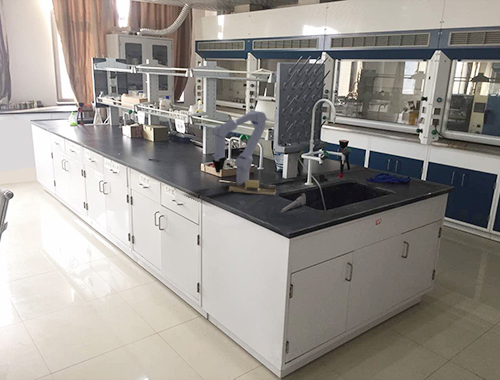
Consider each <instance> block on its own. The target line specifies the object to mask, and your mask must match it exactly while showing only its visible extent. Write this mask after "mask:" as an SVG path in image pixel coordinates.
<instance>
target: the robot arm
mask: <svg viewBox="0 0 500 380" xmlns="http://www.w3.org/2000/svg"><path fill="white" fill-rule="evenodd" d="M267 119H268V118H267V116H266V114H265V112H264V111H259V110H254V109H252V110H251V111H248V112H247V113H245V114H244V115H242V116H241V117H239V118H236V119H235V120H234V119H228V120H227V121H226V122H224V123H220V125H216V126H214V128H213V130H212V133H213V135H214V154H212V157H213V158H214V159H213V160H212V162H213V163H212V164H213V165H214V169H215V173H216V174H217V173H219V174H220V172H221V171H222V170H223V169H224V166H225V162H226V159H227V157H226V155H225V153H226V136H227V135H228V134H229V133H231V132H233V131H235V130H237V129H238V126H240V125H243V124H245V123H247V122H249V121H250V122H251V124H252V126H253V127H254V129H253V131H252V133H251V135H250V137H249V139H248V142H247V143H246V146H245V148H244V150H243V152H241V153H240V154H239V155H238V157H237V158H236V159H235V161H234V165H235V167H236V182H238V183H243V181H244V182H245V187H246V180H250V169H251V167H252V162H253V160H254V159H253V154H254V152H255V150H256V148H257V146H258V143H259V142H260V139H261V137H262V135H263V133H264V131H265V128H266V122H267Z"/></svg>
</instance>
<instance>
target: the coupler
mask: <svg viewBox="0 0 500 380" xmlns="http://www.w3.org/2000/svg"><path fill="white" fill-rule="evenodd" d="M246 188H254V189H257V191H258V190H259V189H260V180H256V179H249V180H246V186H245V190H246Z"/></svg>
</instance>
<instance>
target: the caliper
mask: <svg viewBox="0 0 500 380" xmlns="http://www.w3.org/2000/svg"><path fill="white" fill-rule="evenodd" d="M306 200H307V199H306V194H305V192H303V193H301V196H298V198H296V200H294V201H293V202H291V203H290V204H288V205H286V206H285V207H283V208H282V209H281V211H280V213H281V214H282V213H285V212H287V211H288V210H290V209H291V208H292V207H294V206H296V205H300V204H301V206H304V205H306Z"/></svg>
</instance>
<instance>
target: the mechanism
mask: <svg viewBox="0 0 500 380" xmlns="http://www.w3.org/2000/svg"><path fill="white" fill-rule="evenodd" d="M228 186H229V187H228V188H229V189H228V190H227V191H228V192H231V191H233V193H247V194H258V195H273V196H276V192H277V185H275V184H264V183H263V182H260V183H259V190H258V191H257V189H254V188H246V190H245V187H246V186H245V182H244V181H243V183H238V182H237V181H236V182H235V181H230V182H229V185H228Z"/></svg>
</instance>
